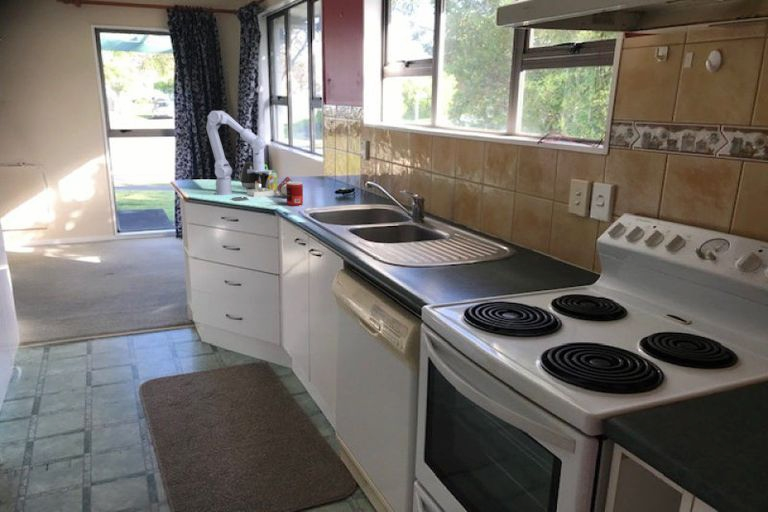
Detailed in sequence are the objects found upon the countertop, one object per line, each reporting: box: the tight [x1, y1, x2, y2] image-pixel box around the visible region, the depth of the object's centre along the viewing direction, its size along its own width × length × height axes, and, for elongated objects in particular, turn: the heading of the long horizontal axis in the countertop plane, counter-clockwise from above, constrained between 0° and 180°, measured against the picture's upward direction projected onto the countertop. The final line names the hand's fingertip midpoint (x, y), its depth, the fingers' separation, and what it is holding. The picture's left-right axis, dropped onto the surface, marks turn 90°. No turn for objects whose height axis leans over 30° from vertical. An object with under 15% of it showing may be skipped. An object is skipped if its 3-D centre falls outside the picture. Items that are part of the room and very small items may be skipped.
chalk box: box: [257, 163, 279, 192], centre depth 325 cm, size 9×9×15 cm
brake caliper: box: [275, 176, 294, 199], centre depth 303 cm, size 11×11×12 cm
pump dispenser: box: [240, 161, 255, 189], centre depth 336 cm, size 10×10×15 cm
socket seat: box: [229, 196, 250, 202], centre depth 294 cm, size 8×8×1 cm
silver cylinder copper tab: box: [254, 180, 263, 192], centre depth 308 cm, size 4×4×6 cm
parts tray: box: [246, 188, 275, 198], centre depth 310 cm, size 11×11×3 cm
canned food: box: [285, 181, 304, 207], centre depth 282 cm, size 8×8×11 cm
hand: (260, 187), depth 309 cm, fingers closed on silver cylinder copper tab, 4 cm apart
